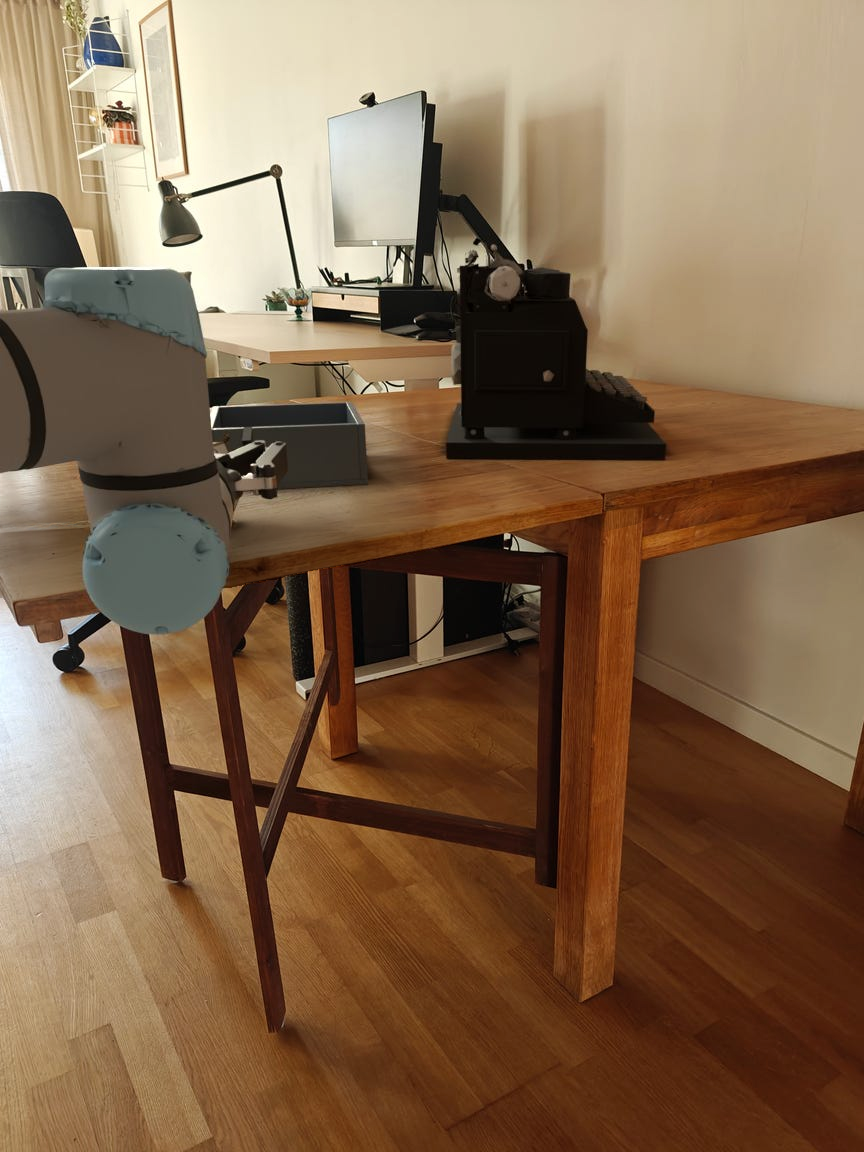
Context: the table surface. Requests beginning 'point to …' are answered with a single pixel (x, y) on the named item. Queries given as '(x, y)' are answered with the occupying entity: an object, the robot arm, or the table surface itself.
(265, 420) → the bin
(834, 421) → the table surface
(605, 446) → the typewriter
